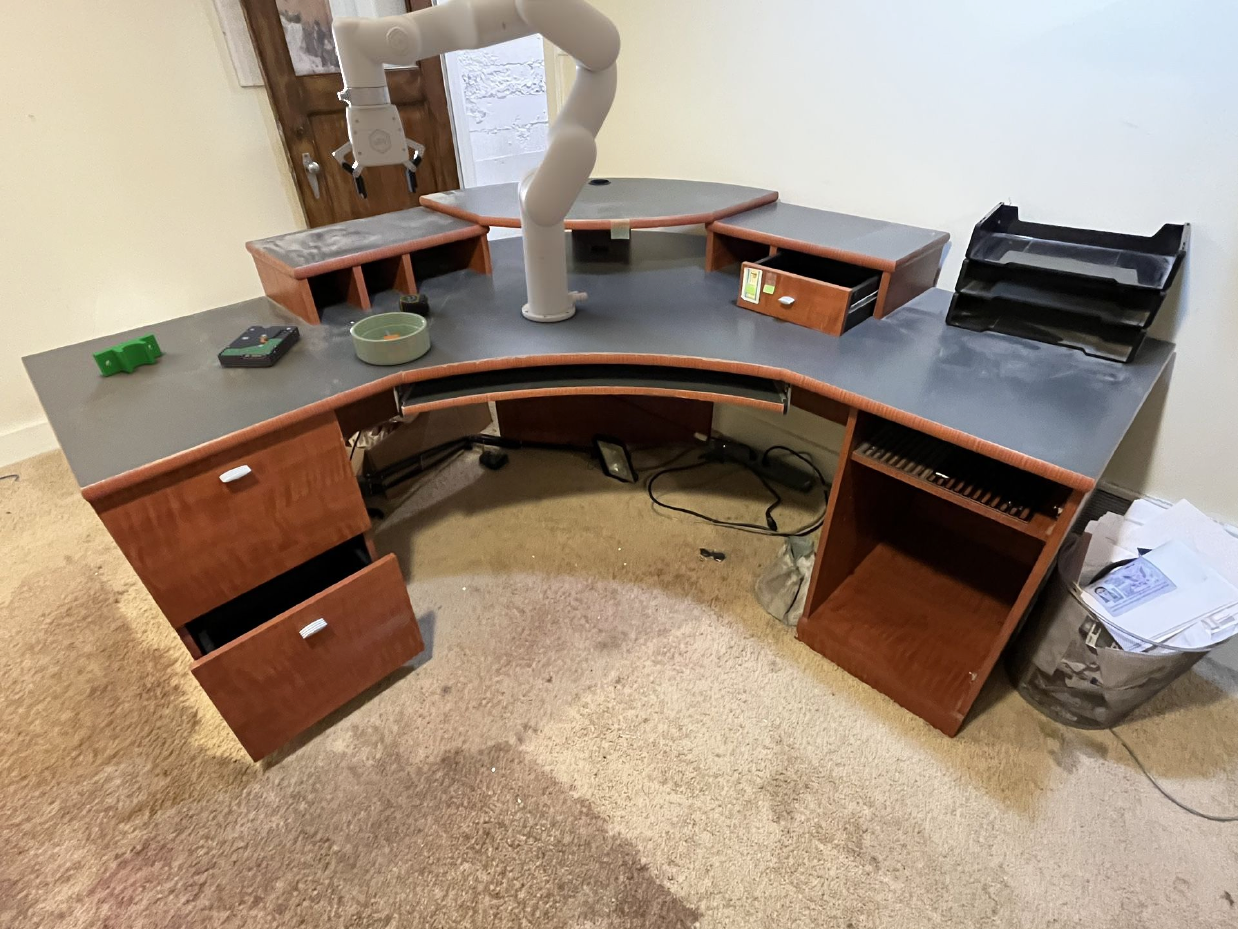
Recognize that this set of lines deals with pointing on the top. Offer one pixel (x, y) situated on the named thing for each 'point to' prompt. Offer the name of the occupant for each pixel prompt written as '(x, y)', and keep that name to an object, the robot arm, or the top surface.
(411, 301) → the tape measure
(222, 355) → the disk drive
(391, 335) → the orange block with pin
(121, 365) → the pipe clamp
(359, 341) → the bowl
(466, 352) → the top surface
